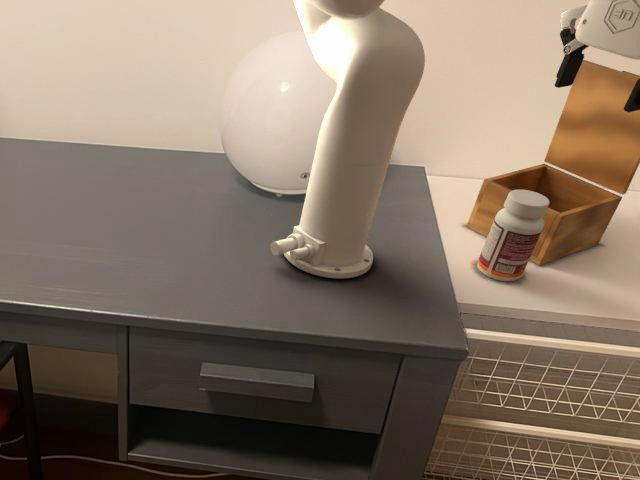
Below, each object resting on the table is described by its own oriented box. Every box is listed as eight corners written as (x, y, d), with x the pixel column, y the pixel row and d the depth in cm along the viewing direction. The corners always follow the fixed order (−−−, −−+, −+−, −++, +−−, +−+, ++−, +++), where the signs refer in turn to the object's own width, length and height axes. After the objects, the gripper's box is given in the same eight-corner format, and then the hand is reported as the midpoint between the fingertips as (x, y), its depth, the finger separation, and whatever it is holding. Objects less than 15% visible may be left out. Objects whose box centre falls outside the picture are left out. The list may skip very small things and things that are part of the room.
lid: (670, 89, 98) (695, 79, 100) (580, 60, 106) (605, 52, 108) (622, 195, 108) (645, 184, 110) (543, 161, 117) (566, 152, 118)
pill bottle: (529, 276, 105) (564, 202, 97) (503, 287, 102) (537, 211, 95) (492, 256, 108) (523, 184, 101) (466, 266, 106) (495, 192, 99)
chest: (539, 265, 107) (562, 216, 102) (466, 226, 116) (483, 179, 111) (598, 244, 113) (622, 197, 108) (524, 208, 122) (544, 163, 117)
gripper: (578, -66, 89) (521, 80, 100) (728, -37, 78) (645, 124, 89) (613, -67, 92) (553, 74, 103) (761, -39, 81) (677, 116, 92)
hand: (596, 97), depth 96 cm, fingers open, 9 cm apart
